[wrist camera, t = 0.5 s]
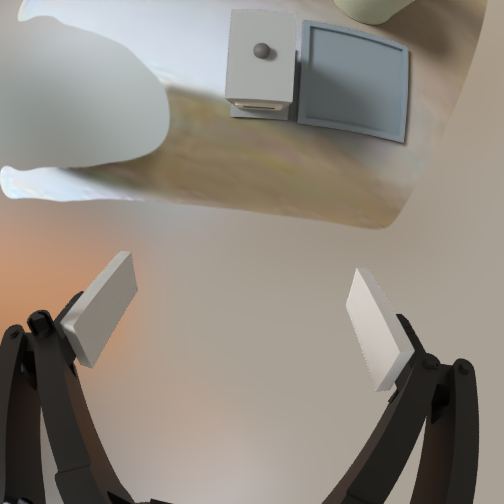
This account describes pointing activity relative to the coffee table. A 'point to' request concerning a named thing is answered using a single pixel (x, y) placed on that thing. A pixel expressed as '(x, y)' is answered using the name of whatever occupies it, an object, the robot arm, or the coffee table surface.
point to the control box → (261, 63)
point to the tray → (352, 81)
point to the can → (371, 9)
